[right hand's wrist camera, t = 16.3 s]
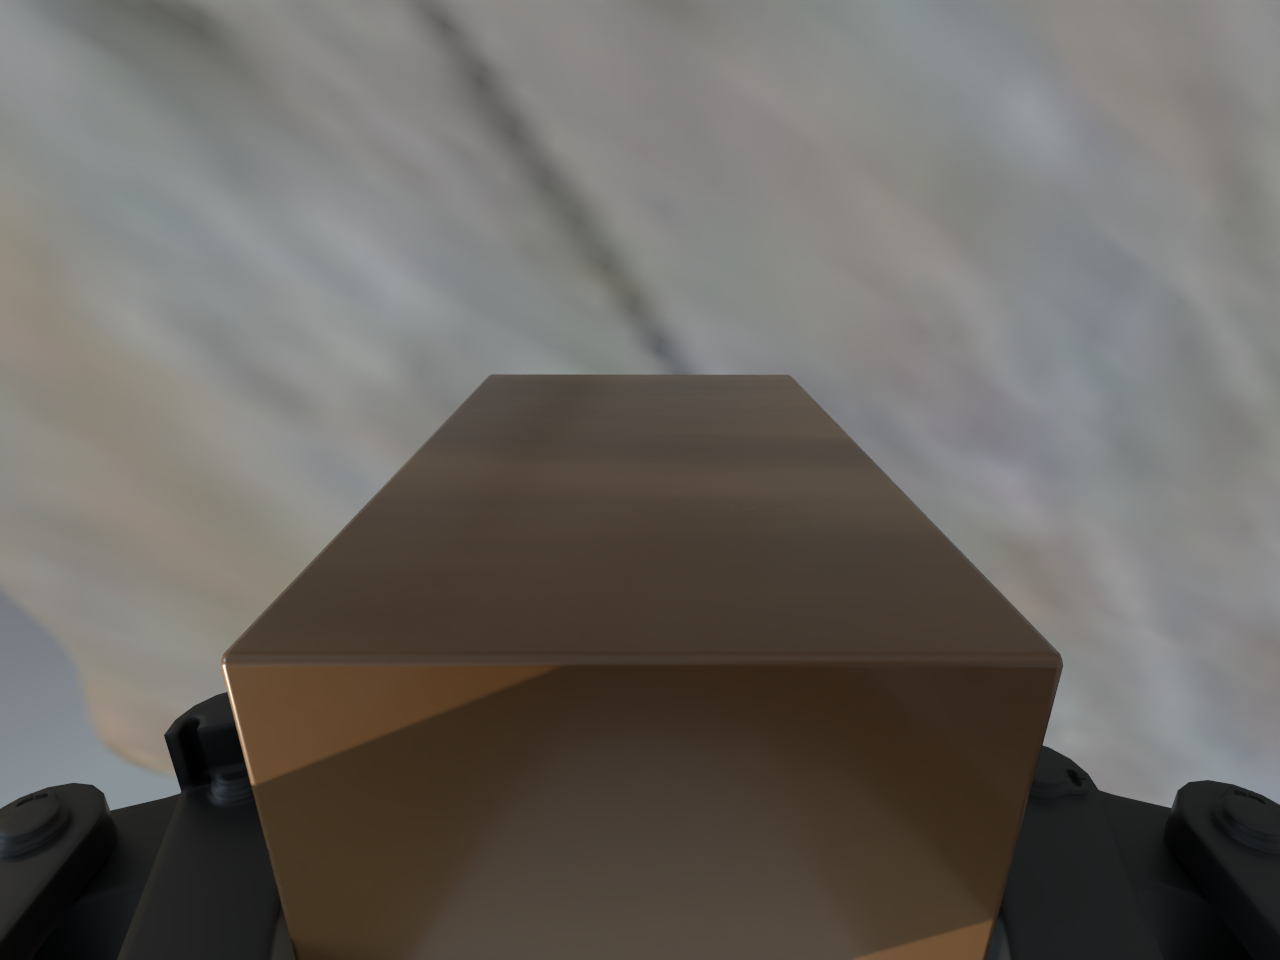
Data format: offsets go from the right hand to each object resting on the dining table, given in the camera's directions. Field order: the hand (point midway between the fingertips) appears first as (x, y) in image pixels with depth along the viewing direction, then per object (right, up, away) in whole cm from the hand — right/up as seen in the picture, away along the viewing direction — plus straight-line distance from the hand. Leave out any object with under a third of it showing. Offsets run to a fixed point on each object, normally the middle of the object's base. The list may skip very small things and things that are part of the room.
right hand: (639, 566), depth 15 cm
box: (0, -7, +4) cm, 8 cm away
